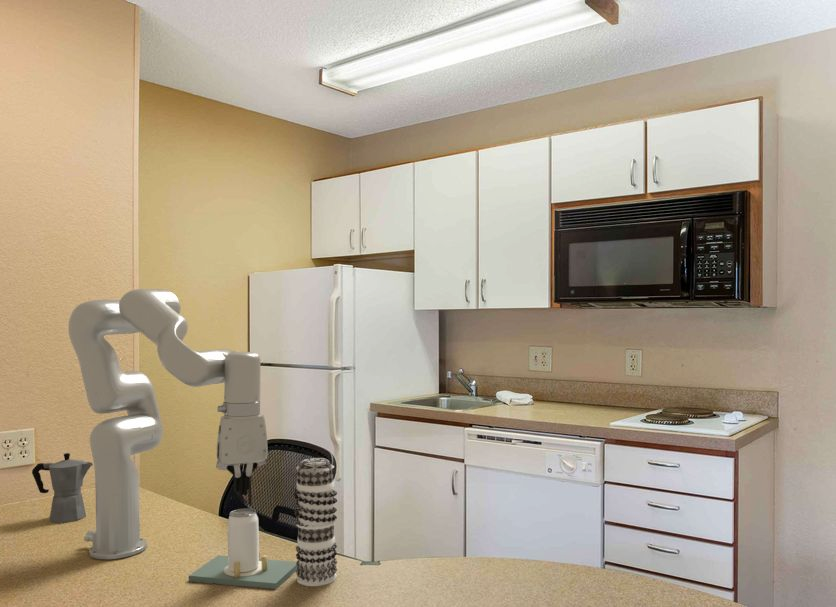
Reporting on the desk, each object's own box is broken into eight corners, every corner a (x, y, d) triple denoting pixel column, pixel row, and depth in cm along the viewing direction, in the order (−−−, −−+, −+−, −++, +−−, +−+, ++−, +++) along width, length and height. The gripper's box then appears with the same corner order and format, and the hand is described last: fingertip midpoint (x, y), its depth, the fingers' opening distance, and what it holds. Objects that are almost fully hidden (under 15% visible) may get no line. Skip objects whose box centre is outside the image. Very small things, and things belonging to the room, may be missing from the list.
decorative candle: (286, 583, 144) (284, 463, 144) (308, 567, 153) (306, 454, 153) (325, 589, 141) (323, 466, 141) (345, 572, 150) (343, 456, 150)
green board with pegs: (188, 581, 146) (188, 561, 146) (218, 560, 158) (218, 542, 158) (275, 589, 141) (275, 568, 141) (299, 567, 153) (299, 548, 153)
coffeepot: (97, 511, 198) (96, 448, 198) (89, 521, 189) (88, 455, 189) (38, 515, 194) (37, 451, 194) (27, 526, 185) (26, 458, 185)
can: (251, 574, 146) (250, 517, 146) (222, 572, 147) (221, 516, 147) (264, 563, 152) (263, 508, 152) (236, 561, 153) (235, 507, 153)
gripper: (211, 414, 143) (211, 503, 143) (281, 409, 150) (280, 493, 151) (202, 409, 149) (201, 494, 149) (269, 404, 157) (269, 485, 157)
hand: (241, 493), depth 150 cm, fingers closed
